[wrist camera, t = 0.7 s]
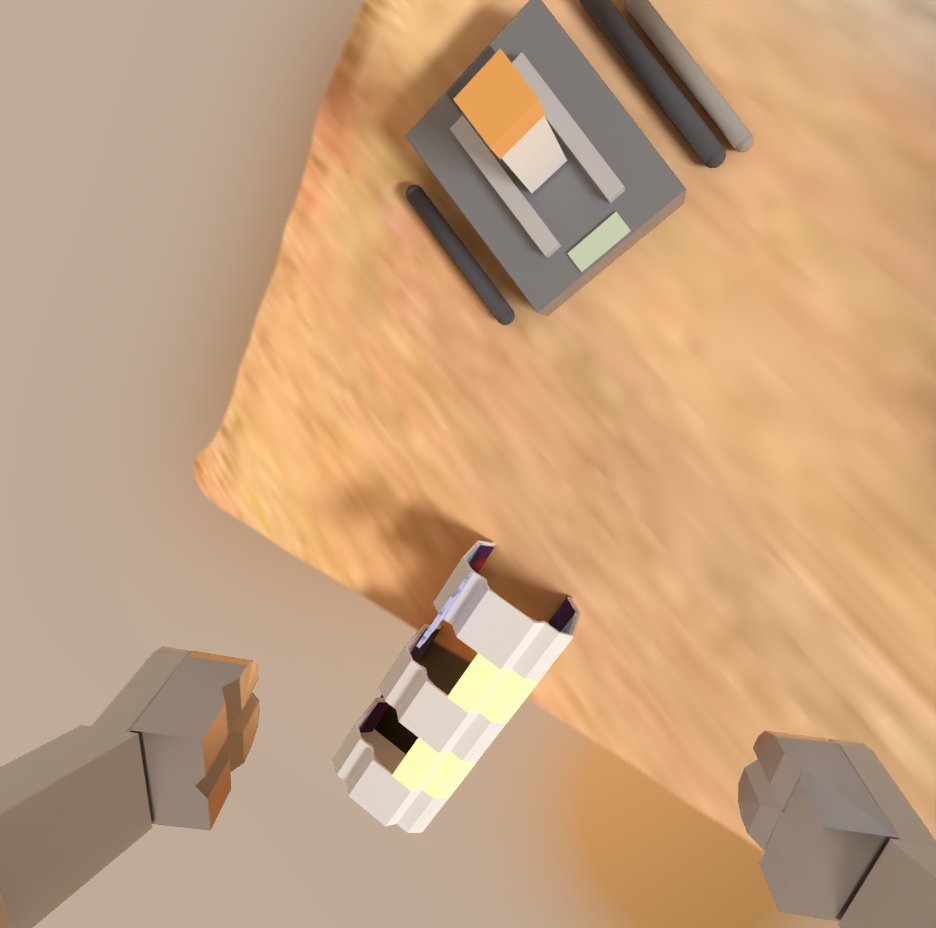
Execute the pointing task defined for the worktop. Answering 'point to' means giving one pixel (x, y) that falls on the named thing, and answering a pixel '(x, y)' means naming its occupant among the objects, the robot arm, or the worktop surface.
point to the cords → (663, 93)
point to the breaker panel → (569, 188)
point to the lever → (511, 121)
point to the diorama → (448, 698)
